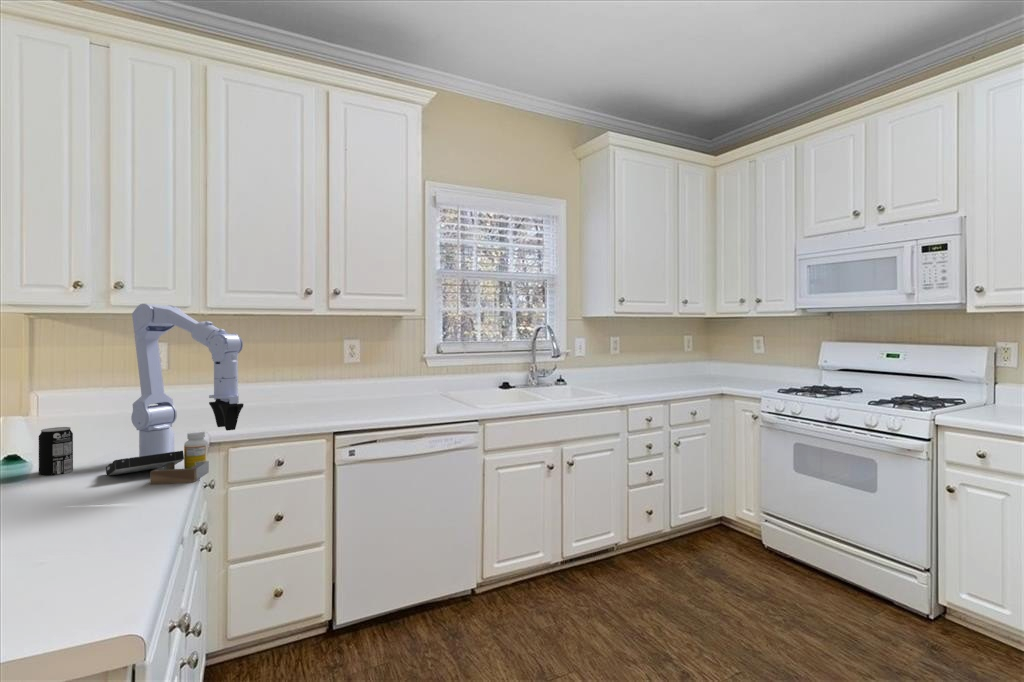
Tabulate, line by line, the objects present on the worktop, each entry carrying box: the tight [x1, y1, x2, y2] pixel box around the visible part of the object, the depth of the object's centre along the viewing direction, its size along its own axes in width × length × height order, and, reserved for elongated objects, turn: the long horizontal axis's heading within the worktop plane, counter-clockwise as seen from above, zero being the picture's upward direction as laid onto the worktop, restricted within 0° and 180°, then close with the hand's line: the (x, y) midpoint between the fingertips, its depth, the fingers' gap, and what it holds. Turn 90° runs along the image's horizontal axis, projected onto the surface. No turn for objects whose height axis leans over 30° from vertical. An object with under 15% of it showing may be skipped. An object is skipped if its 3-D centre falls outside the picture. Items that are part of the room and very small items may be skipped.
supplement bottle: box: [183, 430, 209, 469], centre depth 141 cm, size 5×5×10 cm
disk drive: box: [105, 450, 184, 476], centre depth 136 cm, size 10×3×15 cm
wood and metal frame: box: [149, 460, 210, 485], centre depth 132 cm, size 10×10×3 cm
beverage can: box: [38, 426, 74, 477], centre depth 134 cm, size 7×7×12 cm
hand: (226, 428), depth 143 cm, fingers open, 7 cm apart
